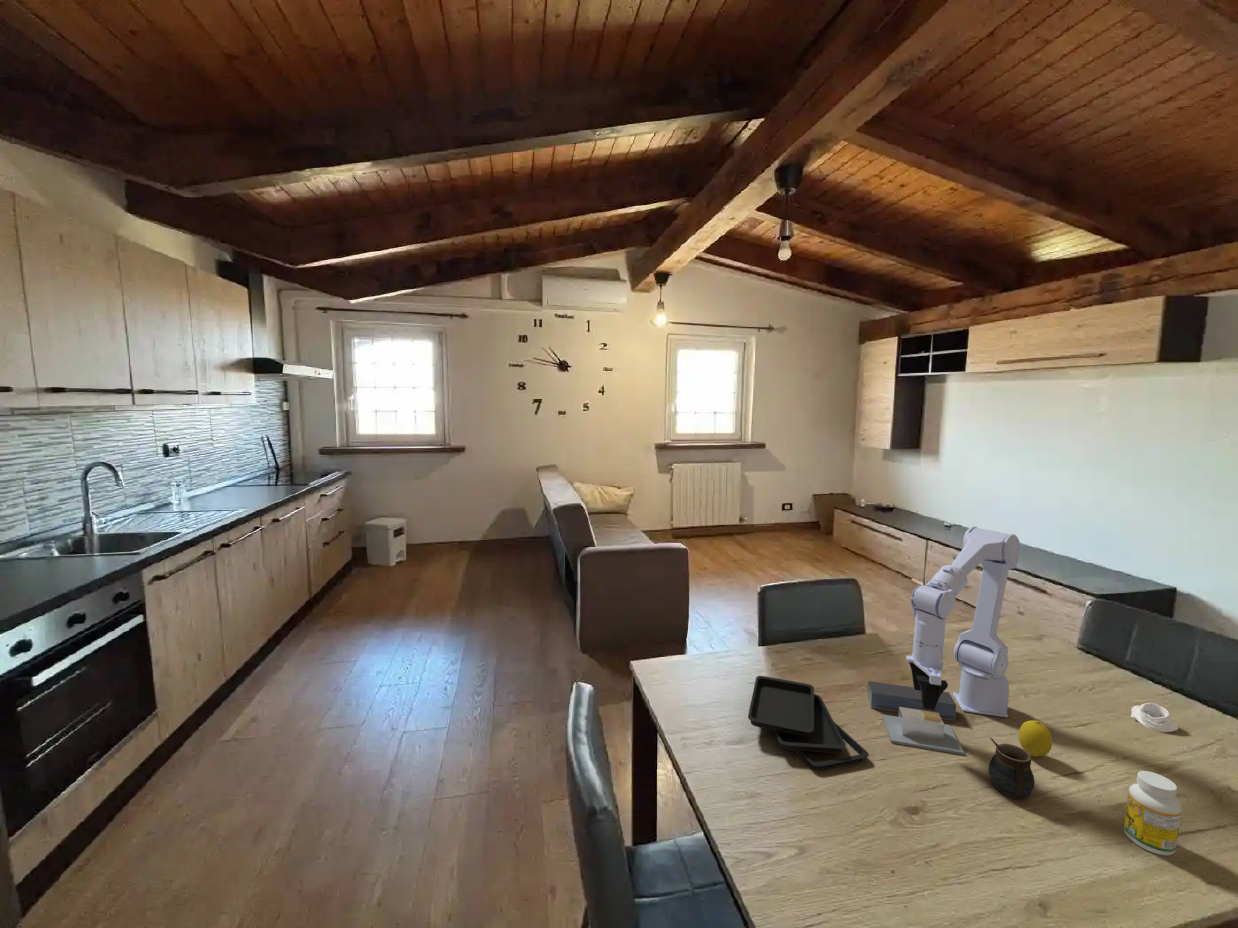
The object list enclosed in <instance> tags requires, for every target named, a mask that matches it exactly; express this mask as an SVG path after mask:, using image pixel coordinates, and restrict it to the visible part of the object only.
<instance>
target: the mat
mask: <svg viewBox="0 0 1238 928" xmlns="http://www.w3.org/2000/svg"><path fill="white" fill-rule="evenodd" d="M882 720H883V722H884V726H885V729H886V732H887V734H888V735H887V736H888V737H889V740H890V743H891V744H896V745H900V746H901V745H902V746H907V747H908V746H909V747H913V748H920V749H926V750H930V751H937V752H944V753H948V754H955V755H959V756H965V752H964V749H963V747H962V746H961V743H960V742H959V740H958V738H957V737H956V734H955V732H954V731H953V729H952V727H951V725H950V724H945V723H944V735H943V742H941V741H935V740H929V739H923V738H917V737H911V736H905V735H902V733H901V730H900V728H899V725H898V716H895V715H890V714H889V715H888V714H882Z"/></svg>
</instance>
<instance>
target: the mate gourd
mask: <svg viewBox="0 0 1238 928" xmlns="http://www.w3.org/2000/svg"><path fill="white" fill-rule="evenodd" d="M989 739H990V740H991V742H992V743H993V744H994V745H995V753H994V755H993V756H992V758H991V759H990V761H989V764H988V775H989V779H990V782H991V783H992V785H993V786H994V787H995V788H996V789H997V790H998V791H999V792H1001V793H1002V794H1003V795H1006V796H1008V797H1011V798H1014V799H1016V800H1019V799H1025V798H1027V797H1029V796H1030V795H1031V794H1032V792H1033V790H1034V788H1035V782H1036V781H1035V775H1034V773H1033V771H1032V769H1031V765H1032V756H1031V754H1030V753H1028V752H1027V751H1025V750H1024V749H1023V748H1021V747H1020V746H1017V745H1014V744H1010V743H1000V744H998V743H997V742H996V741H995V740H994V738H992V737H991V736H989Z"/></svg>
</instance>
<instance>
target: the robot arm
mask: <svg viewBox="0 0 1238 928" xmlns="http://www.w3.org/2000/svg"><path fill="white" fill-rule="evenodd" d="M962 540H963V541H962V549H961V551H959V553H958V555H957V556H956V558H955V559H954V560H953V562H952V563H951V564H950V565H949V564H947V565H945V564H944V565H943V566H942V567H940V569H939V570H938V571H937V572H936V573H935V574H934V576H933V577H932V578H930V580H928V582H927V583H926V584H922V585H918V586H916V587H915V588H914V589H913V591H912V594H911V597H910V606H911V608H912V616H913V617H914V619H915V620H914V629H913V630H914V631H913V644H912V646H913V647H912V654H911V655H907V654H906V657H905V659H906V661H907V663H909V668H910V671H911V676H912V683H913V687H914V689H915V690H920V691H921V697H922V705H923V708H924V709H930V710H934V709H935V707H936V705H937V702H938V700H939V697H940V696H941V694H942V693H943V692H945V691H946V690H947V688H948V686H949V684H948V682H947V681H946V680H943V679H942V678H943V677H942V672H943V667H944V662H943V660H944V659H943V658H944V657H943V656H944V648H945V647H944V645H945V635H946V634H945V632H946V620H947V618H948V616H949V615H950V614H952V611H953V607H954V605H955V603H956V601H957V600H956V599H957V598H956V597H958V595H959V594H960V593H961V591H962V590H963V589H964V588H965V587H966V586H967V584H968V583H969V580H968V577H967V576H968V575H969V574H970V573H972V571H974V569H976V568H977V567H978V566H980V565H981V566H982V573H981V578H980V579H981V580H980V584H979V589H978V594H977V599H976V604H975V605H976V606H975V609H974V610H975V611H974V616H973V622H972V627H971V629H969V630H965V631H963V632H961V633H959V636H958V638H957V639H958V640H957V642H956V643H955V646H954V649H953V656H954V659H955V661H956V662H957V663H958V667H959V668H960V669H961V670H960V680H959V681H960V682H959V692H953V693H952V695H953V697H954V699H955V701H956V702H957V703H958V705H959V706H960V709H961V710H962V711H963V712H967V713H968V712H969V713H973V714H979V715H989V716H995V717H1000V718H1001V717H1002V718H1008V717H1009V715H1008V707H1009V706H1008V704H1009V694H1010V687H1009V684H1010V683H1009V681H1008V678H1007V676H1006V675H1005V673H1006V672H1007V669H1008V666H1009V658H1008V657H1009V656H1008V653H1009V648H1008V646H1007V644H1006V643H1004V641H1003V640H1002V639H1001V638H1000V637H999V636H998V635H997V634H998V633H997V632H998V627H999V624H1000V616H1001V611H1002V606H1003V601H1004V596H1005V591H1006V585H1007V579H1008V575H1009V570H1012V569H1017V565H1018V563H1019V557H1020V552H1021V542H1020V540H1019V537H1018V536H1017V535H1016V534H1013V533H1006V532H1000V531H994V530H989V529H985V528H979V527H977V526H971V527H969V528H968V529H967V530H966V531H965V533H964V536H963V539H962Z"/></svg>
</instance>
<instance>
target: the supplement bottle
mask: <svg viewBox="0 0 1238 928" xmlns="http://www.w3.org/2000/svg"><path fill="white" fill-rule="evenodd" d="M1177 796H1178V787H1177V785H1176V784H1175V783H1174V782H1173V781H1172V780H1170V779H1169V778H1167V777H1165V776H1164V775H1161V774H1159V773H1156V772H1152V771H1147V770H1140V771H1138V773H1137V776H1136V783H1133V784H1131V785H1129V788H1128V793H1127V800H1126V801H1127V802H1126V807H1125V808H1126V809H1125V810H1126V811H1125V815H1124V816H1125V817H1124V826H1123V831H1124V833H1125V834H1126V836H1127V837H1128V838H1129V840H1131V841H1132V842H1133V843H1134V844H1135V845H1137V846H1139V848H1141V849H1143V850H1146V851H1148V852H1150V853H1153V854H1156V855H1159V856H1172V855H1174V854H1175V852H1176V850H1177V845H1178V837H1179V829H1180V823H1181V817H1182V806H1181V804H1180V802H1179V800H1178V799H1177Z"/></svg>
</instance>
